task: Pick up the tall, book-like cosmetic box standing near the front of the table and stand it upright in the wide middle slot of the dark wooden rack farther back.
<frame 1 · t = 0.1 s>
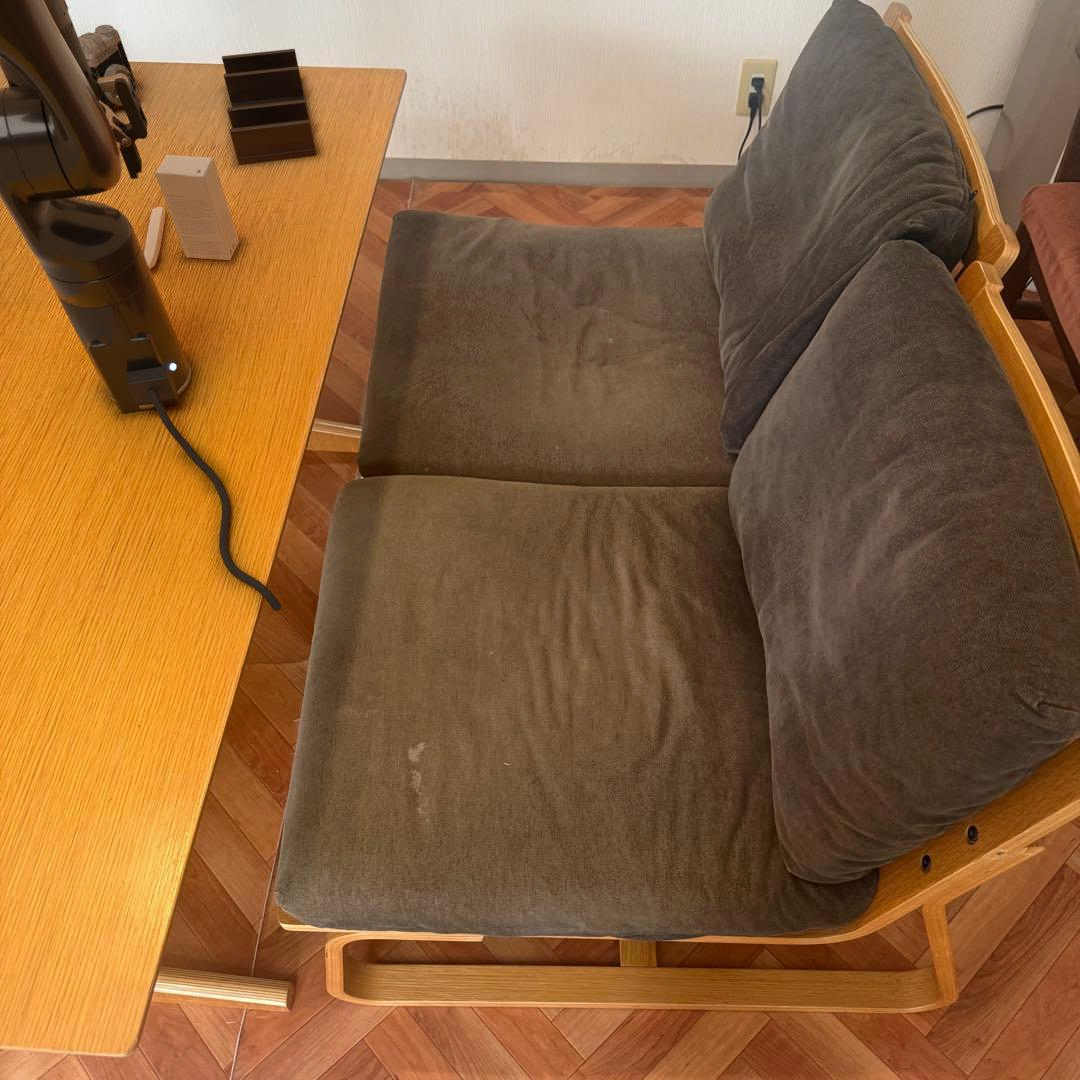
hand: (93, 179, 95), 17 cm above the table, tool pointing down, fingers open, 8 cm apart
camera: (114, 109, 136), on the table
rack: (271, 120, 135), on the table
cosmetic box: (213, 251, 116), on the table
pen: (157, 245, 117), on the table
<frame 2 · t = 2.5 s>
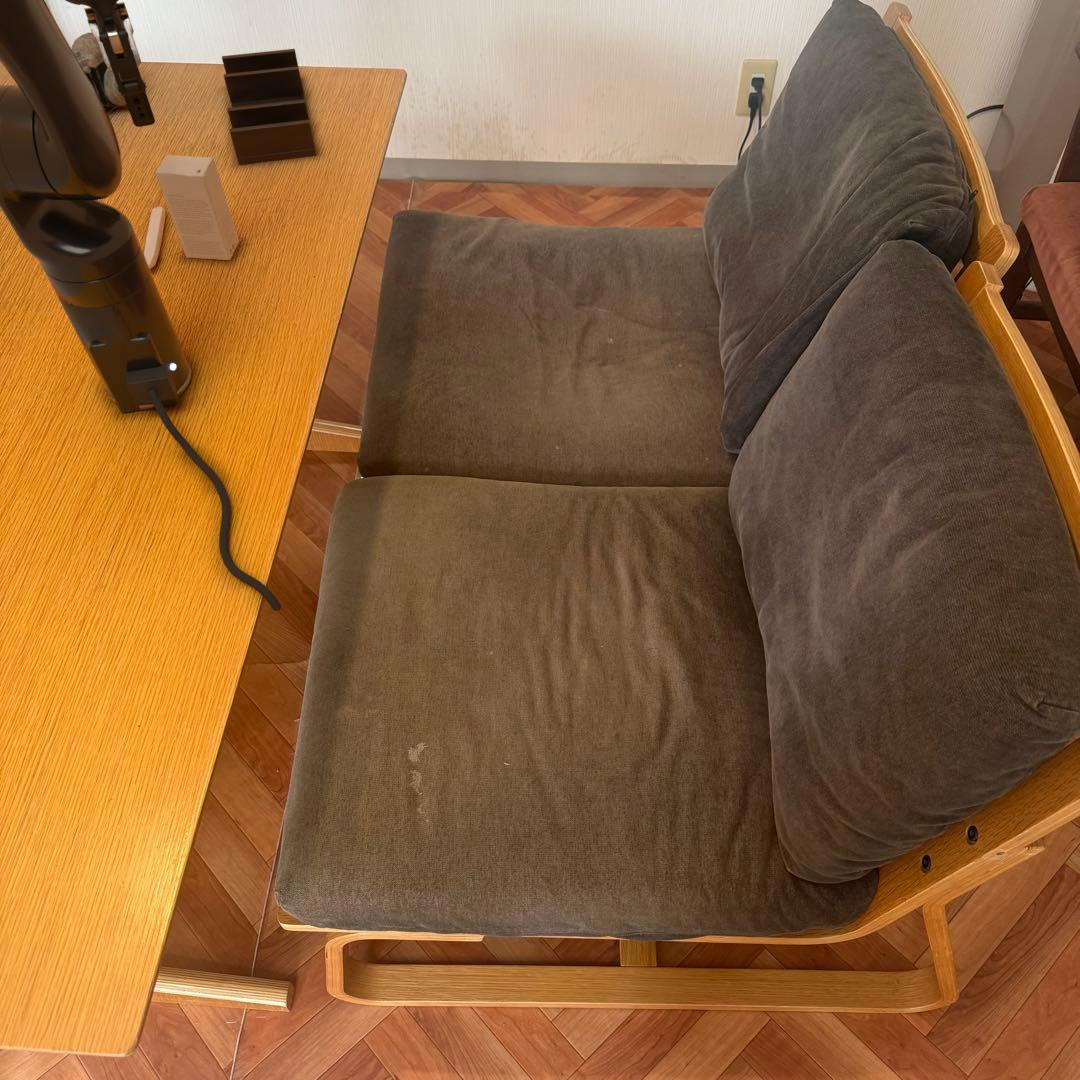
hand: (139, 104, 97), 21 cm above the table, tool pointing down, fingers open, 8 cm apart
nothing on the table moved.
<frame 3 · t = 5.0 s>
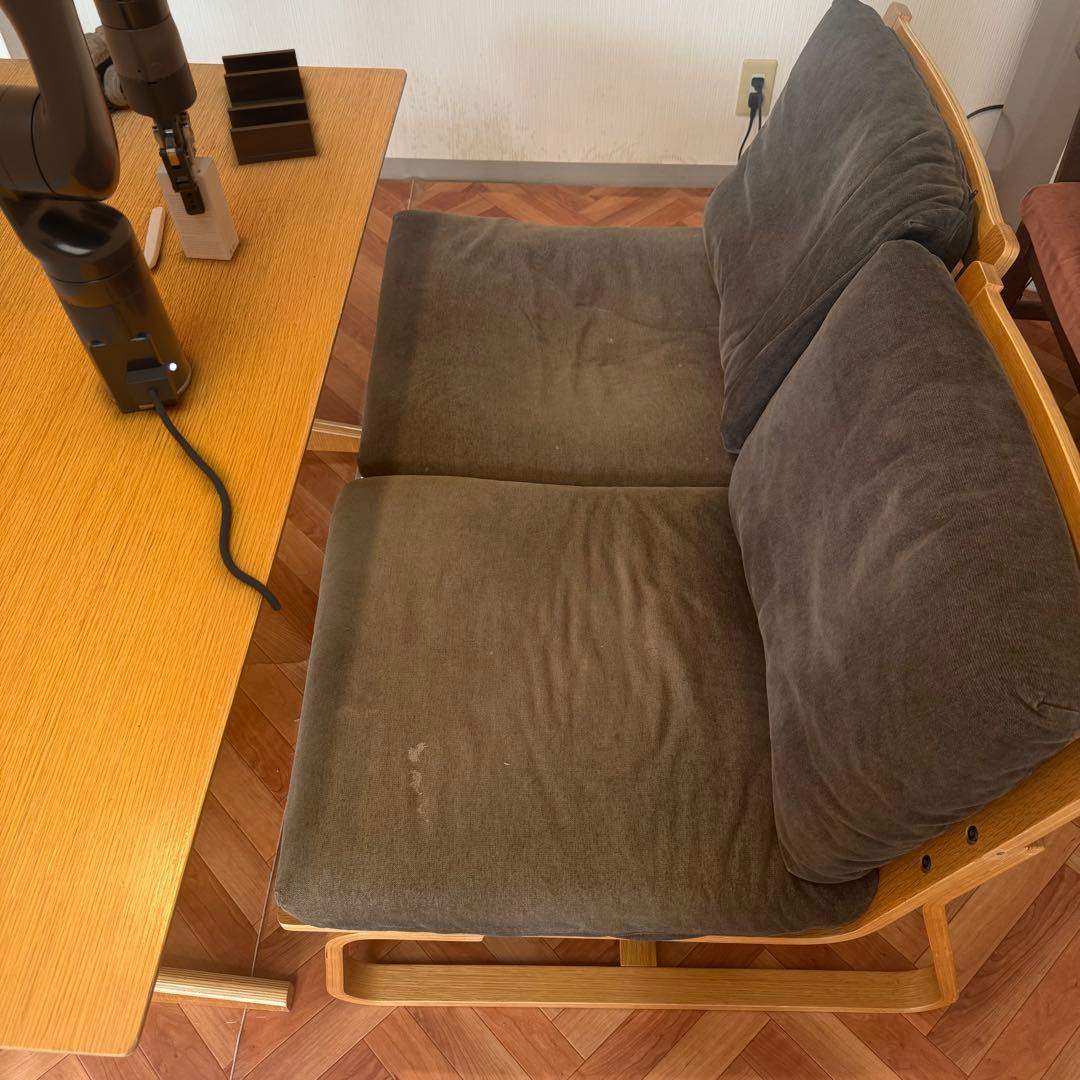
hand: (195, 198, 110), 7 cm above the table, tool pointing down, fingers closed on cosmetic box, 5 cm apart
cosmetic box: (213, 251, 116), on the table, touching gripper
everything else where it was.
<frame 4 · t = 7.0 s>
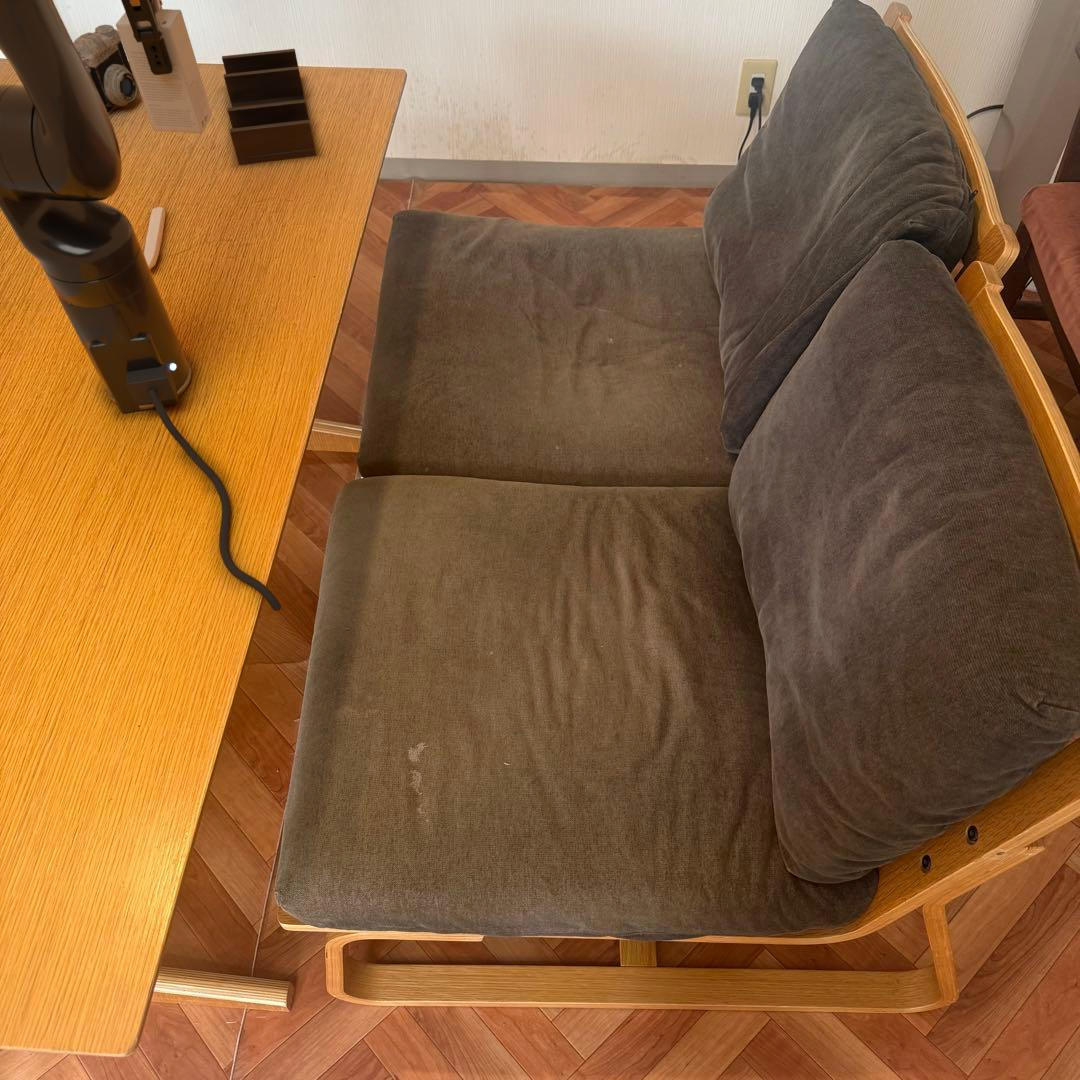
hand: (162, 59, 99), 23 cm above the table, tool pointing down, fingers closed on cosmetic box, 5 cm apart
cosmetic box: (183, 125, 105), point 15 cm above the table, touching gripper
everything else where it was.
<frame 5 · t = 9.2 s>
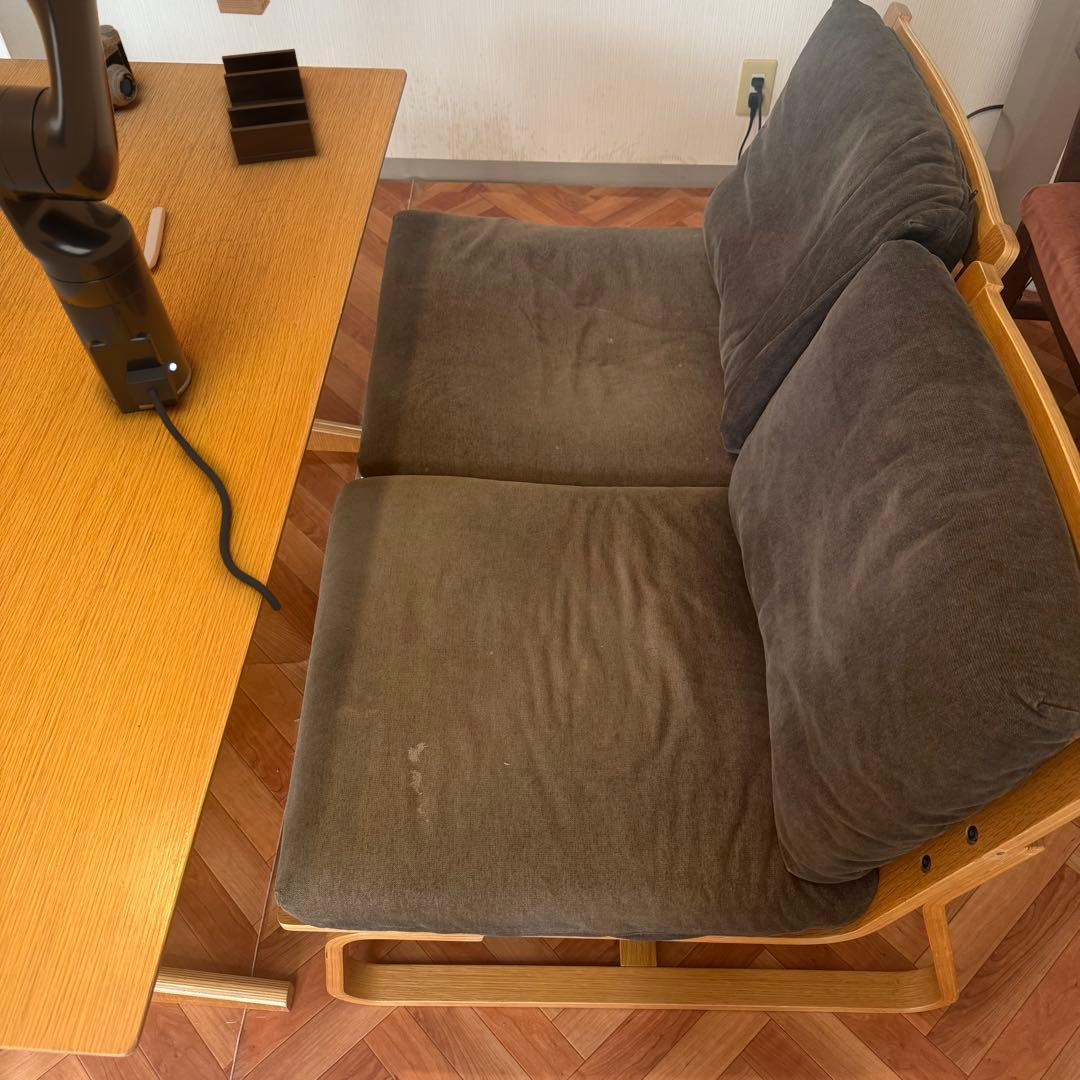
cosmetic box: (245, 9, 122), point 16 cm above the table, touching gripper
everything else where it was.
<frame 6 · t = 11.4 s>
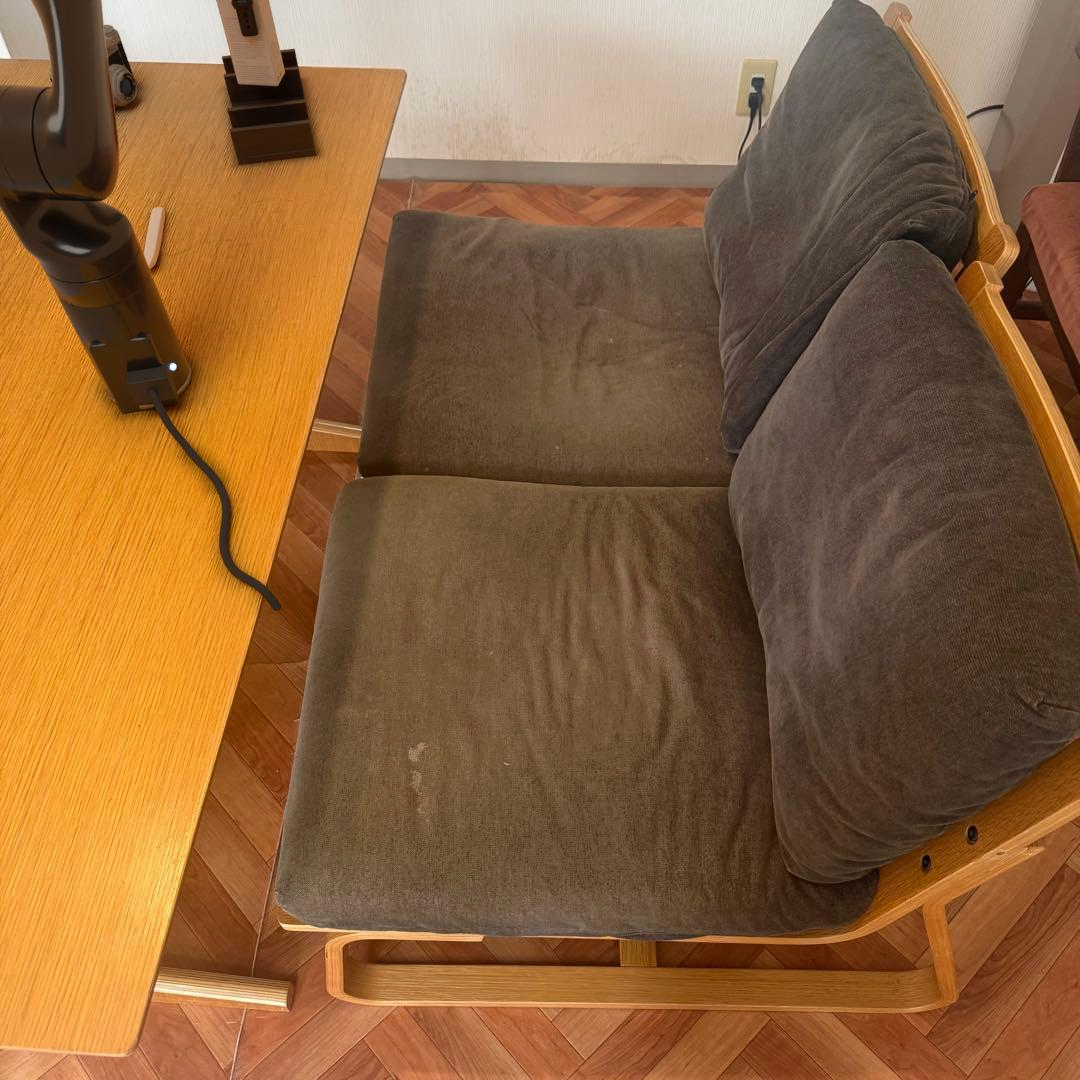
hand: (248, 24, 123), 14 cm above the table, tool pointing down, fingers closed on cosmetic box, 5 cm apart
cosmetic box: (261, 80, 129), point 6 cm above the table, touching gripper
everything else where it was.
when the fingers open (8 cm above the table, at t = 13.2 s): cosmetic box stays where it is, resting on rack.
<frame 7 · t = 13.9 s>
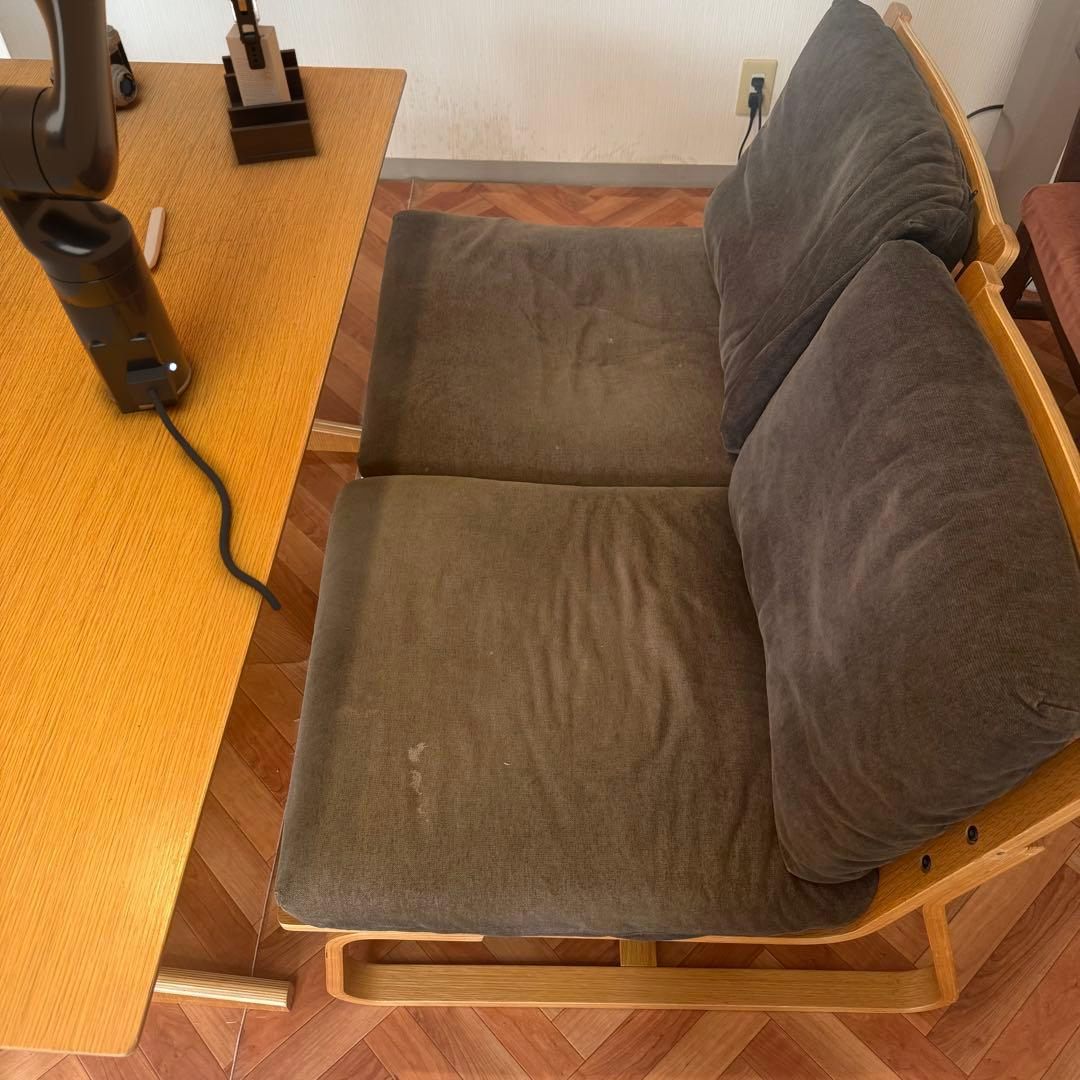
hand: (255, 53, 127), 10 cm above the table, tool pointing down, fingers open, 8 cm apart
cosmetic box: (270, 116, 134), point 1 cm above the table, touching rack
everything else where it was.
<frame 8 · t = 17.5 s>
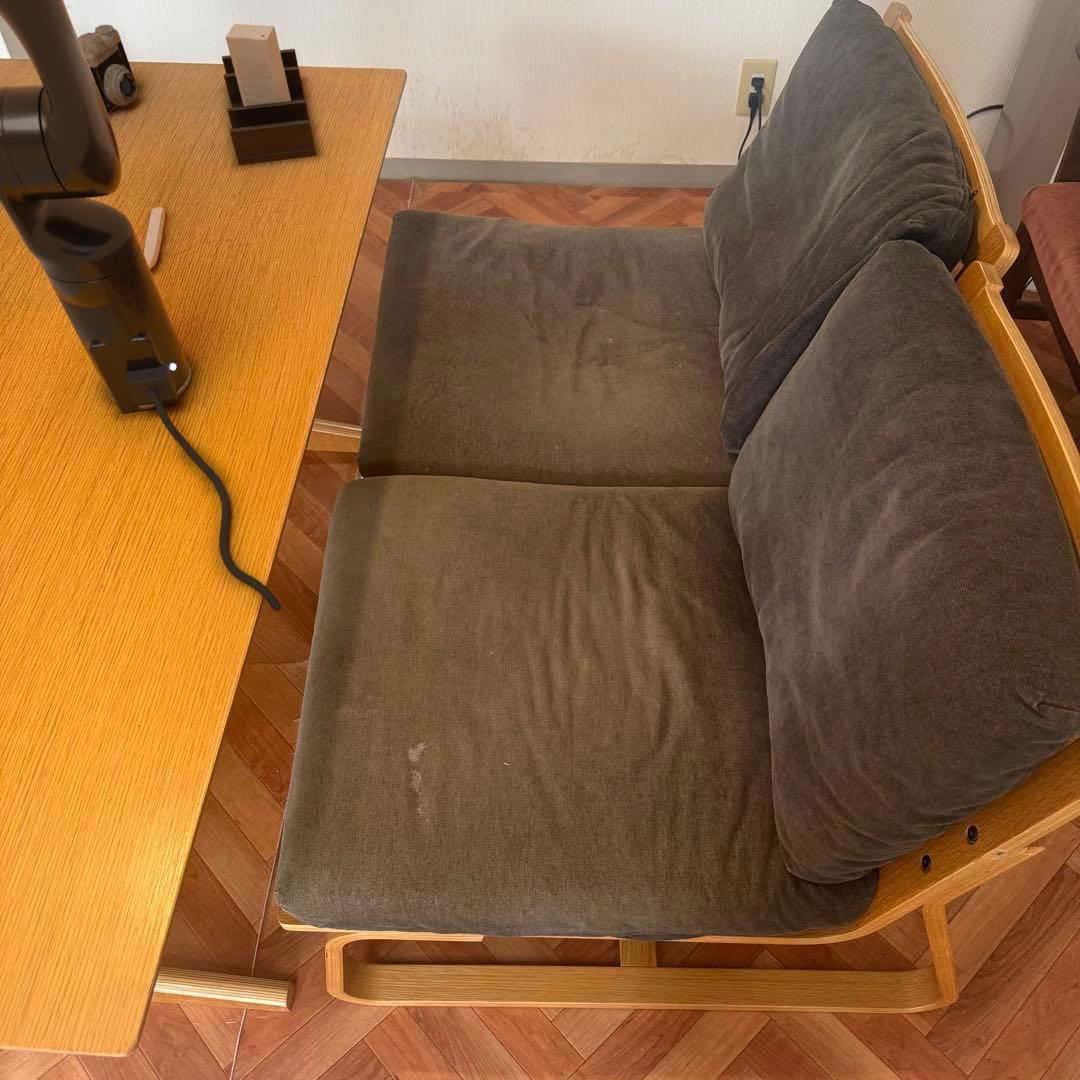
nothing on the table moved.
at the end: cosmetic box inside the target area on the rack (0.1 cm from its centre), point 0.8 cm above the rack's base; cosmetic box tilted 0°; the gripper is holding nothing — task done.
